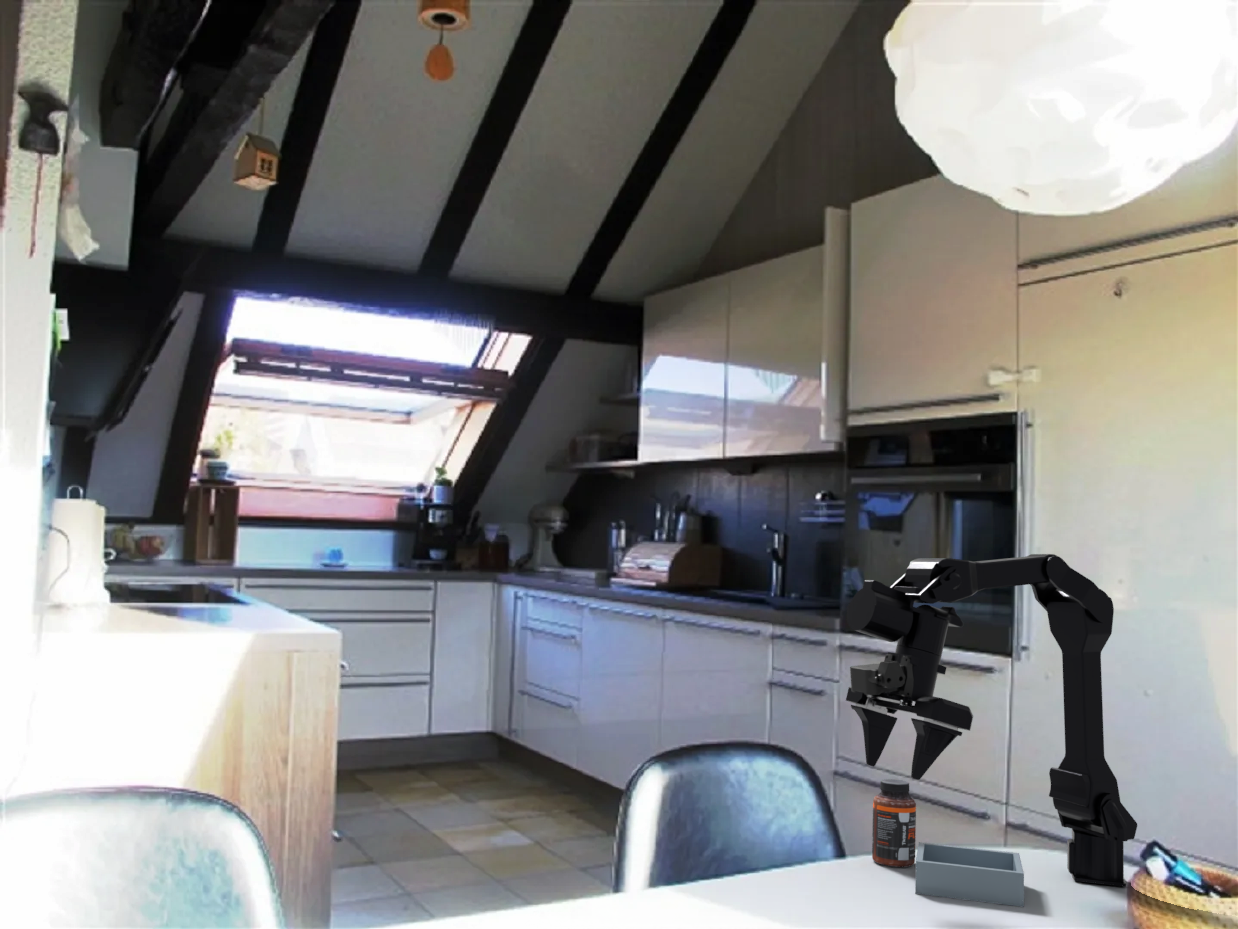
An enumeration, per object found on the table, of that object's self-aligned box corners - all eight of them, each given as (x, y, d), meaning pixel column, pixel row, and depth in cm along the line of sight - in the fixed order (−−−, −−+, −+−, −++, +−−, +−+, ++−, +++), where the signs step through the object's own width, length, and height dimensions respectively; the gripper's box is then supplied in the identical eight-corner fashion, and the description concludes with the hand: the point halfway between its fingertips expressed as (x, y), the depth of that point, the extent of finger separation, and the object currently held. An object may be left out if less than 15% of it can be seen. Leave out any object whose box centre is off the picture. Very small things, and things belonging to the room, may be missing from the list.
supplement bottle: (916, 870, 150) (917, 786, 151) (872, 866, 151) (873, 783, 153) (913, 860, 156) (914, 779, 157) (871, 856, 157) (872, 776, 158)
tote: (1019, 884, 145) (1019, 853, 146) (1023, 907, 135) (1023, 873, 135) (918, 872, 149) (918, 842, 150) (915, 893, 139) (915, 861, 139)
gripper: (827, 630, 147) (799, 745, 144) (915, 640, 129) (886, 771, 127) (893, 652, 150) (867, 764, 147) (987, 664, 133) (960, 792, 130)
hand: (892, 772), depth 138 cm, fingers open, 9 cm apart
